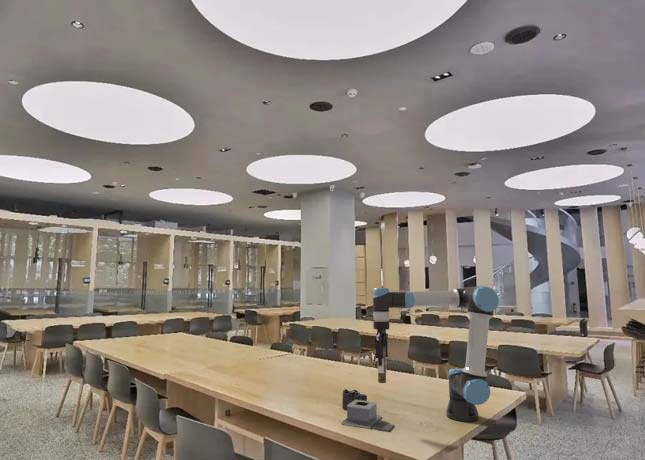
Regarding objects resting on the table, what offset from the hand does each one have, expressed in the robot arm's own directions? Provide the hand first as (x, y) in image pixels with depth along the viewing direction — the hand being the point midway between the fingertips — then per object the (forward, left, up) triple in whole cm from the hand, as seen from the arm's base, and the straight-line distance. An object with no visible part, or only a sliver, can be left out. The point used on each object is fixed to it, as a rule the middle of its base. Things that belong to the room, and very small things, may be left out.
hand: (382, 372), depth 187 cm
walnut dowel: (0, 0, -5) cm, 5 cm away
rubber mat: (0, 0, -24) cm, 24 cm away
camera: (+20, -21, -25) cm, 38 cm away
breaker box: (+12, -5, -24) cm, 28 cm away
